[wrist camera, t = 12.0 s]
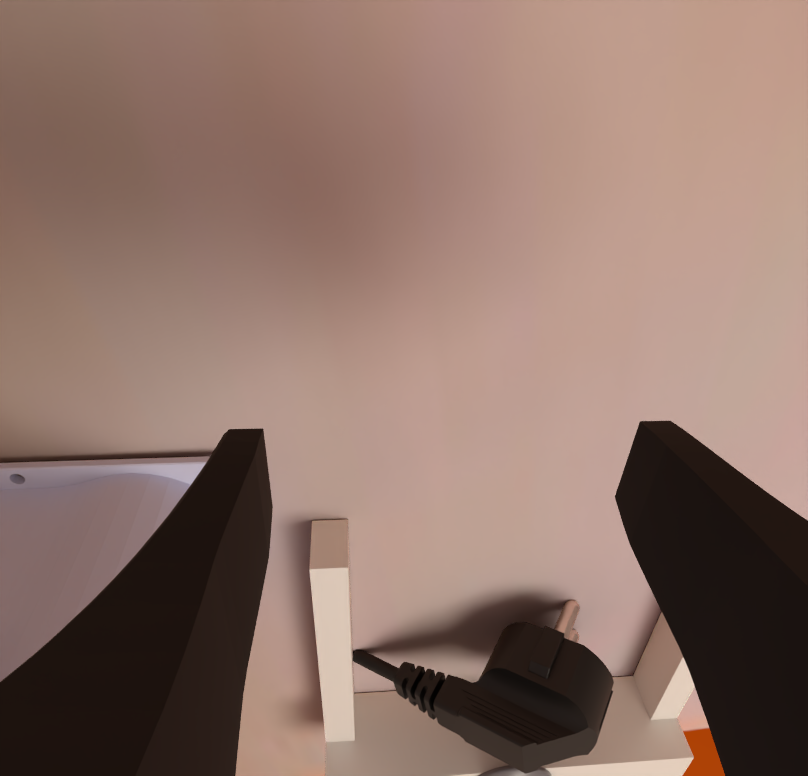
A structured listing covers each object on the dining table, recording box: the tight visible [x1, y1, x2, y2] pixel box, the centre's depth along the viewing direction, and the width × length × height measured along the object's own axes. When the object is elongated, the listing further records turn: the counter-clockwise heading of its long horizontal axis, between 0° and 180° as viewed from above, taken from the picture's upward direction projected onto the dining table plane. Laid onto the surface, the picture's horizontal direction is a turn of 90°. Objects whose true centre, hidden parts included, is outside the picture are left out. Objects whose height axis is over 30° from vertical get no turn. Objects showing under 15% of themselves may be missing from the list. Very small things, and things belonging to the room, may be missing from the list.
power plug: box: [353, 600, 614, 773], centre depth 31 cm, size 6×8×12 cm
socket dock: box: [309, 519, 695, 776], centre depth 30 cm, size 19×18×5 cm
